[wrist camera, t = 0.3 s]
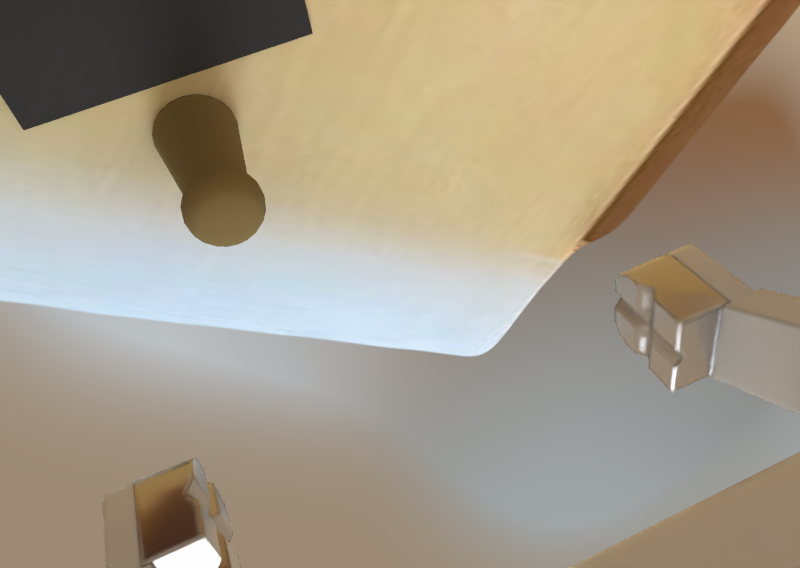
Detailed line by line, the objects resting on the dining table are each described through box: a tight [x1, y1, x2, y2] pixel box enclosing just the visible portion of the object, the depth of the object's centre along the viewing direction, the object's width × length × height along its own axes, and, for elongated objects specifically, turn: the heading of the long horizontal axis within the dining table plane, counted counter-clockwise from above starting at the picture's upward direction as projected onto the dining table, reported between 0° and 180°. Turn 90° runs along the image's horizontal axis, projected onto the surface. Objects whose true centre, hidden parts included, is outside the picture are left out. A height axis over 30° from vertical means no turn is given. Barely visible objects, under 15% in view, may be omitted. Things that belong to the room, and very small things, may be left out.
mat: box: [0, 0, 312, 130], centre depth 42 cm, size 11×20×1 cm, turn 99°
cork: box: [152, 95, 266, 247], centre depth 46 cm, size 6×6×11 cm
